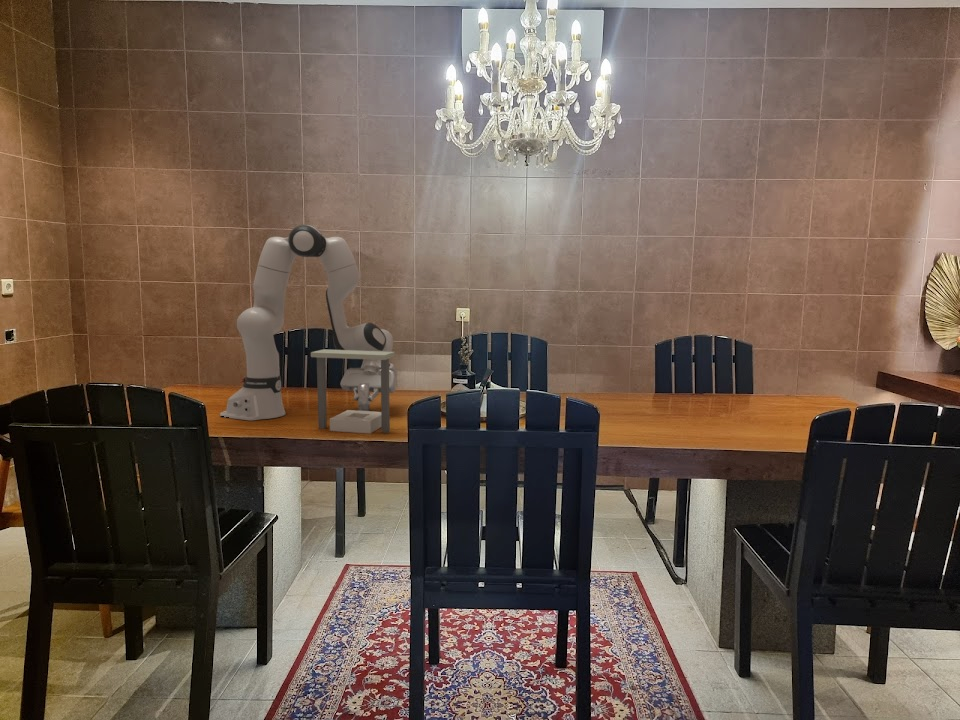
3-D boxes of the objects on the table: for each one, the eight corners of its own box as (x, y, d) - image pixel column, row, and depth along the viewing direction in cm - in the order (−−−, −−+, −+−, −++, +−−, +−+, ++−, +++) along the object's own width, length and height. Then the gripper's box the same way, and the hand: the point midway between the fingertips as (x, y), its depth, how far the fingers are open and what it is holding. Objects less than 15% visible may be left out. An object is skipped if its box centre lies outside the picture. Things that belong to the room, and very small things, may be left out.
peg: (356, 418, 226) (356, 384, 224) (361, 416, 230) (360, 383, 228) (367, 419, 225) (366, 385, 224) (371, 416, 229) (371, 383, 227)
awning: (312, 430, 208) (310, 352, 205) (325, 424, 217) (323, 349, 213) (385, 435, 203) (384, 355, 199) (395, 428, 211) (394, 351, 208)
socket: (329, 430, 208) (329, 418, 207) (348, 421, 221) (347, 409, 221) (370, 433, 205) (370, 421, 204) (386, 423, 218) (386, 412, 218)
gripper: (344, 362, 234) (332, 393, 226) (397, 364, 230) (387, 396, 221) (349, 372, 239) (338, 403, 231) (401, 375, 234) (392, 406, 226)
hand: (363, 400), depth 226 cm, fingers closed on peg, 4 cm apart
